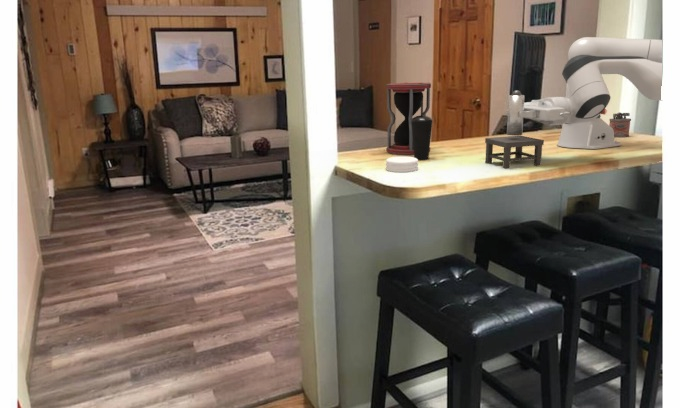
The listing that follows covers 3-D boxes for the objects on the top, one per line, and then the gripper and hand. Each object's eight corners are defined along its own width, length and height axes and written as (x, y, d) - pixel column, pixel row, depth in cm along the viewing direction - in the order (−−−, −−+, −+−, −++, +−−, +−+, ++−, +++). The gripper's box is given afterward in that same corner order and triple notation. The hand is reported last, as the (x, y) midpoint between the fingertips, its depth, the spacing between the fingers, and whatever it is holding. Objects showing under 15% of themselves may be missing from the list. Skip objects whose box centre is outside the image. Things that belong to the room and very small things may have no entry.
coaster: (379, 170, 164) (379, 159, 163) (399, 165, 171) (399, 155, 170) (404, 174, 157) (404, 162, 156) (424, 169, 164) (424, 158, 163)
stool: (519, 159, 174) (520, 135, 171) (541, 165, 162) (543, 140, 160) (484, 162, 170) (485, 138, 168) (505, 169, 159) (506, 143, 157)
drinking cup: (419, 156, 185) (419, 98, 180) (437, 158, 180) (438, 99, 175) (405, 159, 180) (405, 100, 175) (423, 161, 175) (424, 101, 170)
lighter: (609, 137, 215) (611, 113, 212) (606, 136, 218) (609, 112, 215) (630, 137, 213) (633, 112, 211) (627, 136, 217) (630, 112, 214)
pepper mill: (516, 133, 166) (518, 89, 163) (525, 134, 162) (527, 90, 159) (503, 134, 165) (506, 90, 162) (512, 135, 161) (514, 90, 157)
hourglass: (433, 154, 188) (434, 83, 181) (388, 155, 188) (388, 84, 181) (426, 147, 203) (427, 81, 197) (384, 148, 203) (384, 83, 197)
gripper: (573, 124, 156) (533, 127, 153) (531, 118, 176) (494, 121, 172) (575, 102, 155) (534, 105, 151) (532, 99, 174) (495, 101, 170)
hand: (513, 113), depth 162 cm, fingers closed on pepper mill, 5 cm apart
